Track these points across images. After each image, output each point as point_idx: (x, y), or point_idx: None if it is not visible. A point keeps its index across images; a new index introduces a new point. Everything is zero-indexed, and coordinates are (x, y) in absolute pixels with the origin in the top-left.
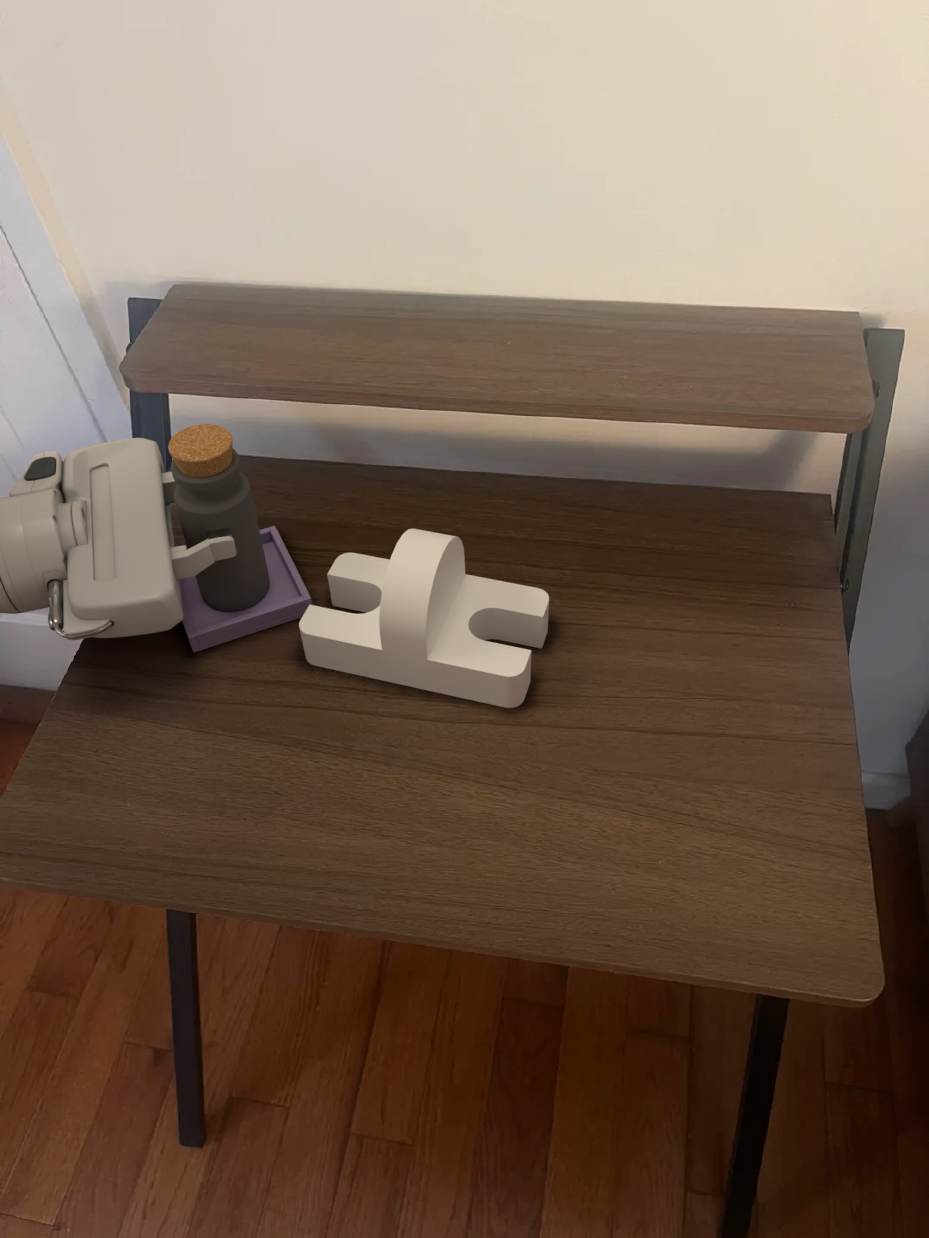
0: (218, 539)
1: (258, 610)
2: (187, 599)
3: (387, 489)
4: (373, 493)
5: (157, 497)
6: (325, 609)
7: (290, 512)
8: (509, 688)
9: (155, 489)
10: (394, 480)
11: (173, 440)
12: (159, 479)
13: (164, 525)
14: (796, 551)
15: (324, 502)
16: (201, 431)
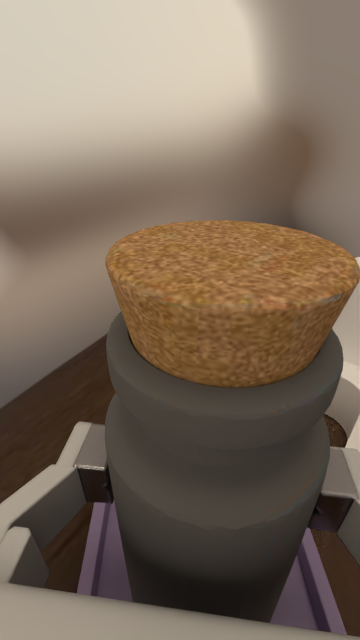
0: (358, 474)
1: (304, 545)
2: None
3: (98, 359)
4: (95, 369)
5: (122, 624)
6: (356, 431)
7: (58, 451)
8: None
9: (61, 621)
10: (90, 351)
11: (181, 285)
12: (1, 586)
13: (330, 637)
14: None
15: (72, 411)
16: (164, 241)
